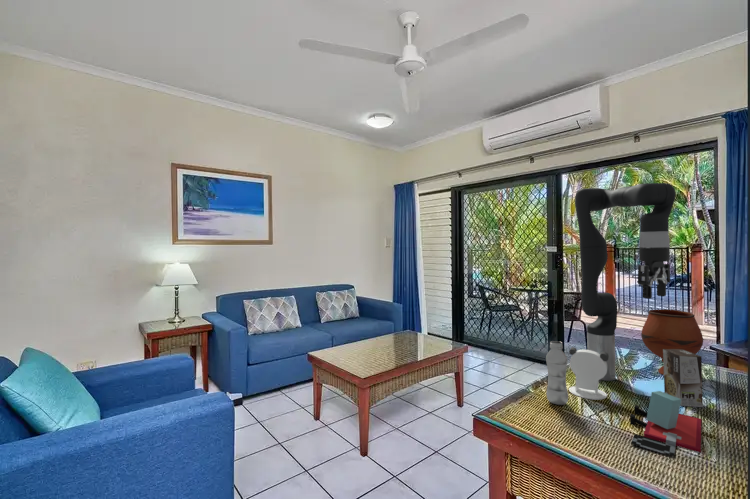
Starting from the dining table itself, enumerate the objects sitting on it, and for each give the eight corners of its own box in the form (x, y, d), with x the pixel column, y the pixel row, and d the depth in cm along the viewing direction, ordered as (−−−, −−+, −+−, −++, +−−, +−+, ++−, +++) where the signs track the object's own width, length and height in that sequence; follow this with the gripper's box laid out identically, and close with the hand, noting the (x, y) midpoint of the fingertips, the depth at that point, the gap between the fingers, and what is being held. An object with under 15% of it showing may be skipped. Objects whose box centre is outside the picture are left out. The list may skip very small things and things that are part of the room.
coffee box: (704, 407, 111) (702, 356, 111) (680, 406, 113) (679, 355, 113) (684, 396, 120) (683, 348, 120) (663, 394, 121) (662, 348, 122)
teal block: (646, 419, 100) (651, 392, 100) (654, 417, 102) (660, 391, 102) (667, 429, 95) (673, 400, 95) (675, 427, 98) (681, 399, 98)
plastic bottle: (567, 400, 118) (566, 340, 118) (569, 409, 112) (568, 345, 112) (546, 397, 120) (545, 339, 121) (546, 405, 114) (545, 343, 115)
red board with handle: (622, 444, 92) (700, 468, 82) (622, 433, 92) (700, 456, 82) (637, 407, 114) (701, 423, 103) (638, 399, 114) (701, 414, 103)
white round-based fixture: (609, 391, 125) (609, 349, 125) (608, 402, 116) (607, 357, 116) (571, 384, 132) (570, 344, 132) (567, 394, 123) (566, 351, 123)
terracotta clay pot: (650, 379, 136) (649, 314, 136) (636, 364, 154) (634, 307, 154) (714, 385, 129) (713, 317, 129) (691, 369, 146) (690, 309, 147)
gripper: (652, 246, 118) (652, 294, 119) (628, 246, 112) (628, 297, 112) (679, 245, 112) (679, 297, 112) (656, 246, 105) (656, 300, 105)
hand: (654, 297), depth 112 cm, fingers open, 8 cm apart
